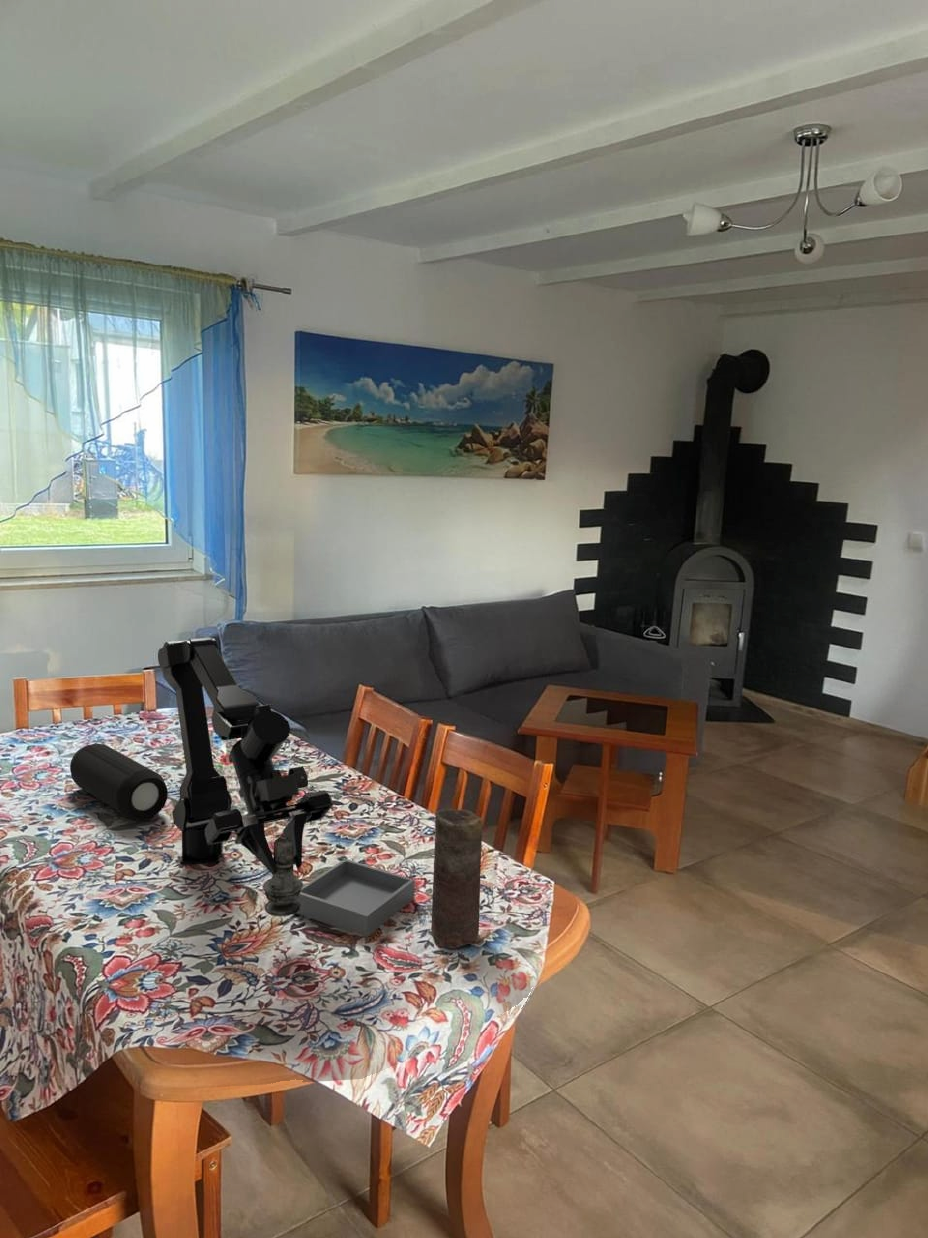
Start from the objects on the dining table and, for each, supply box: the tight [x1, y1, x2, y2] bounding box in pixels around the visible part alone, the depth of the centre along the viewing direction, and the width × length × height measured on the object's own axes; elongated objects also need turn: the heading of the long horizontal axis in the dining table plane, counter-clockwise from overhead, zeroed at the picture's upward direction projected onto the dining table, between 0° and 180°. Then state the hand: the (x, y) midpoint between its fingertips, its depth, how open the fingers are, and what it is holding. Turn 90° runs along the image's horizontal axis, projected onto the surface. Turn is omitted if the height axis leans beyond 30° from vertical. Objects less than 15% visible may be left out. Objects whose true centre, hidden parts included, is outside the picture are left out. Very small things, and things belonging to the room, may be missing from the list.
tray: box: [296, 858, 416, 938], centre depth 146 cm, size 14×14×4 cm
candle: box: [430, 808, 483, 949], centre depth 136 cm, size 8×7×20 cm
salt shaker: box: [262, 831, 304, 917], centre depth 133 cm, size 6×6×12 cm
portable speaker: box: [69, 743, 169, 820], centre depth 182 cm, size 26×10×10 cm, turn 47°
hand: (287, 870), depth 132 cm, fingers closed on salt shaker, 4 cm apart
